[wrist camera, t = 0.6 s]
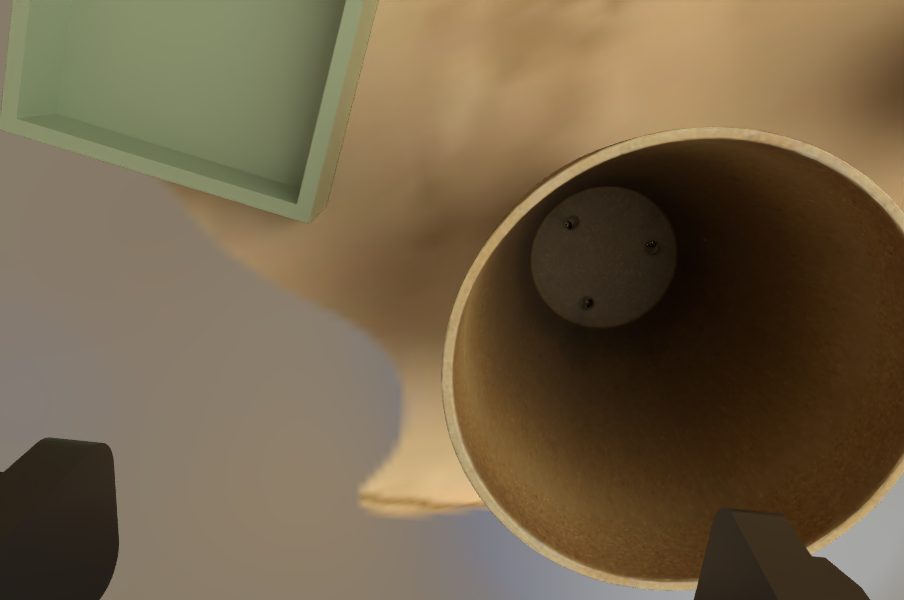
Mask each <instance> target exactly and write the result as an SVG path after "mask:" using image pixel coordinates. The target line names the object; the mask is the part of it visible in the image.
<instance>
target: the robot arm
mask: <svg viewBox="0 0 904 600" xmlns="http://www.w3.org/2000/svg"><path fill="white" fill-rule="evenodd" d="M118 549H119V534H118V519H117V505H116V489H115V474H114V461H113V455H112V451H111V449H110V447H109V446H108V445H107V444H105V443H98V442H88V441H78V440H68V439H58V438H44V439H42V440H40V441H39V442H38V443H36V444H35V445H34V446H33V447H32V448H31V449H30V450H28V451H27V452H26V453H25V454H24V455H23V456H21V458H19V459H18V460H17V461H16V462H15V463H14V464H12V465H11V466H10V467H9V468H8V469H7V470H6V471H4V472H0V600H100V598H101V597H102V595H103V594H104V592H105V591H106V589H107V587H108V585H109V583H110V580H111V578H112V576H113V573H114V570H115V566H116V562H117V557H118ZM694 600H870V599H869V597H868V596H867V595H866V593H865V592H864V590H863V589H862V588H861V587H860V586H859V585H858V584H856V583H855V582H854V581H853V580H851V579H850V578H849V577H848V576H847V575H845V574H844V573H843V572H842V571H841V570H839V569H838V568H837V567H836V566H835V565H833V564H832V563H831V562H830V561H828V560H827V559H826V558H823V557H812V556H811V554H810V553H809V551H808V550H807V548H806V547H805V545H804V544H803V542H802V540H801V539H800V537H799V536H798V534H797V533H796V531H795V530H794V528H793V527H792V525H791V524H790V522H789V521H788V519H787V518H786V517H785V516H784V515H783V514H780V513H773V512H763V511H753V510H743V509H733V508H721V509H719V510H718V511H717V513H716V515H715V517H714V520H713V523H712V527H711V531H710V535H709V539H708V543H707V547H706V552H705V556H704V560H703V564H702V568H701V572H700V576H699V580H698V585H697V589H696V593H695V597H694Z"/></svg>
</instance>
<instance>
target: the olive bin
mask: <svg viewBox="0 0 904 600" xmlns="http://www.w3.org/2000/svg"><path fill="white" fill-rule="evenodd" d="M377 4H378V0H13V2H12V11H11V20H10V30H9V39H8V48H7V58H6V67H5V76H4V86H3V95H2V104H1V114H0V130H2V131H5V132H9V133H12V134H15V135H18V136H21V137H25V138H28V139H31V140H35V141H38V142H41V143H45V144H48V145H51V146H54V147H58V148H61V149H64V150H67V151H71V152H74V153H77V154H81V155H84V156H87V157H91V158H94V159H97V160H101V161H104V162H107V163H110V164H114V165H117V166H120V167H123V168H127V169H130V170H133V171H136V172H140V173H143V174H146V175H150V176H153V177H156V178H159V179H163V180H166V181H169V182H173V183H176V184H179V185H182V186H186V187H189V188H192V189H196V190H199V191H202V192H205V193H209V194H212V195H215V196H219V197H222V198H225V199H228V200H232V201H235V202H238V203H242V204H245V205H248V206H251V207H255V208H258V209H261V210H265V211H268V212H271V213H274V214H278V215H281V216H284V217H288V218H291V219H294V220H297V221H301V222H304V223H307V224H309V223H310V222H311V221H312V220H313V219H314V218H315V217H316V216H317V215H318V214H319V213H320V212H321V211H322V210H323V209H324V208H326V205H327V201H328V197H329V193H330V189H331V185H332V182H333V178H334V174H335V170H336V166H337V162H338V158H339V154H340V150H341V146H342V142H343V138H344V134H345V130H346V126H347V122H348V119H349V115H350V111H351V107H352V103H353V99H354V95H355V91H356V87H357V83H358V79H359V75H360V71H361V67H362V63H363V59H364V56H365V52H366V48H367V44H368V40H369V36H370V32H371V28H372V24H373V20H374V16H375V12H376V8H377Z"/></svg>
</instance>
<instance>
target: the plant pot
mask: <svg viewBox="0 0 904 600" xmlns="http://www.w3.org/2000/svg"><path fill="white" fill-rule="evenodd" d="M565 221H570V222H571V224H572V227H571V229H570V228H568V227H567V226H566V224H565ZM652 241H654V242H656V246H655V247H648V246H647V244H648V243H649V242H652ZM589 299H591V300H592V304H591V305H590V307H586V305H585V304H586V301H587V300H589ZM441 380H442V397H443V406H444V413H445V419H446V423H447V428H448V432H449V435H450V438H451V441H452V444H453V447H454V450H455V453H456V455H457V457H458V459H459V461H460V464H461V466H462V468H463V470H464V472H465V474H466V476H467V478H468V479H469V481H470V482H471V484H472V486H473V487H474V489H475V490H476V492H477V494H478V495H479V497H480V498H481V499H482V501H483V502H484V503H485V504H486V506H487V507H488V508H489V510H490V511H491V512H492V513H493V514H494V515H495V516H496V517H497V519H498V520H499V521H500V522H501V523H503V525H504V526H506V527H507V528H508V529H509V530H510V531H511V532H512V533H513V534H514V535H515V536H517V537H518V538H519V539H520V540H522V541H523V542H524V543H525V544H527V545H528V546H529V547H531V548H532V549H534V550H535V551H537V552H539V553H540V554H542V555H544V556H545V557H547V558H548V559H550V560H551V561H553V562H555V563H557V564H559V565H561V566H563V567H565V568H567V569H570V570H572V571H575V572H577V573H580V574H582V575H585V576H587V577H590V578H594V579H597V580H600V581H604V582H607V583H611V584H616V585H621V586H627V587H633V588H641V589H648V590H666V591H672V590H673V591H676V590H696V589H697V585H698V580H699V576H700V572H701V568H702V564H703V560H704V556H705V552H706V547H707V543H708V539H709V535H710V531H711V527H712V523H713V520H714V517H715V515H716V513H717V511H718V510H719V509H721V508H733V509H743V510H753V511H763V512H773V513H780V514H783V515H784V516H785V517H786V518H787V519H788V521H789V522H790V524H791V525H792V527H793V528H794V530H795V531H796V533H797V534H798V536H799V537H800V539H801V540H802V542H803V544H804V545H805V547H806V548H807V550H808V551H809V553H810V554H811V555H812V554H813V553H815V552H817V551H818V550H820V549H822V548H823V547H825V546H826V545H828V544H829V543H831V542H833V541H834V540H836V539H837V538H838V537H840V536H841V535H842V534H844V533H845V532H846V531H848V530H849V529H850V528H852V527H853V526H854V525H855V524H856V523H858V522H859V521H860V520H861V519H862V518H863V517H864V516H865V515H867V514H868V513H869V512H870V511H871V510H872V509H873V508H874V507H875V506H876V505H877V504H878V503H879V502H880V501H881V500H882V499H883V498H884V497H885V496H886V495H887V493H888V492H889V491H890V490H891V489H892V487H893V486H894V485H895V483H896V482H897V481H898V479H899V478H900V477H901V475H902V474H903V472H904V213H903V211H902V210H901V209H900V208H899V207H898V206H897V204H896V203H895V202H894V201H893V200H892V199H891V198H890V197H889V196H888V195H887V194H886V193H885V192H884V191H883V190H882V189H881V188H880V187H879V186H878V185H877V184H875V183H874V182H873V181H872V180H871V179H869V178H868V177H867V176H865V175H864V174H862V173H861V172H860V171H858V170H857V169H855V168H854V167H852V166H851V165H849V164H848V163H846V162H845V161H843V160H842V159H840V158H838V157H836V156H834V155H832V154H830V153H828V152H826V151H824V150H822V149H819V148H817V147H815V146H812V145H810V144H808V143H805V142H802V141H799V140H796V139H793V138H790V137H787V136H782V135H778V134H773V133H769V132H765V131H759V130H753V129H745V128H735V127H694V128H685V129H677V130H668V131H663V132H659V133H654V134H649V135H645V136H641V137H637V138H633V139H630V140H626V141H622V142H619V143H616V144H614V145H611V146H608V147H605V148H602V149H599V150H596V151H594V152H592V153H589V154H587V155H585V156H583V157H580V158H578V159H576V160H575V161H573V162H571V163H569V164H567V165H565V166H564V167H562V168H560V169H558V170H557V171H555V172H554V173H552V174H551V175H549V176H548V177H547V178H545V179H544V180H543V181H541V182H540V183H539V184H537V185H536V186H535V187H534V188H533V189H531V190H530V191H529V192H528V193H527V194H526V195H525V196H524V197H523V198H522V199H521V200H520V201H519V202H518V203H517V204H516V205H515V206H514V207H513V208H512V209H511V210H510V212H509V213H508V214H507V215H506V216H505V217H504V219H503V220H502V221H501V222H500V224H499V225H498V226H497V227H496V229H495V230H494V231H493V232H492V234H491V235H490V237H489V238H488V240H487V241H486V243H485V244H484V246H483V247H482V249H481V250H480V252H479V254H478V255H477V257H476V259H475V260H474V262H473V264H472V265H471V267H470V269H469V270H468V272H467V274H466V276H465V278H464V281H463V283H462V285H461V287H460V289H459V292H458V294H457V297H456V299H455V302H454V305H453V308H452V311H451V314H450V318H449V321H448V325H447V330H446V336H445V342H444V348H443V355H442V372H441Z"/></svg>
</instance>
